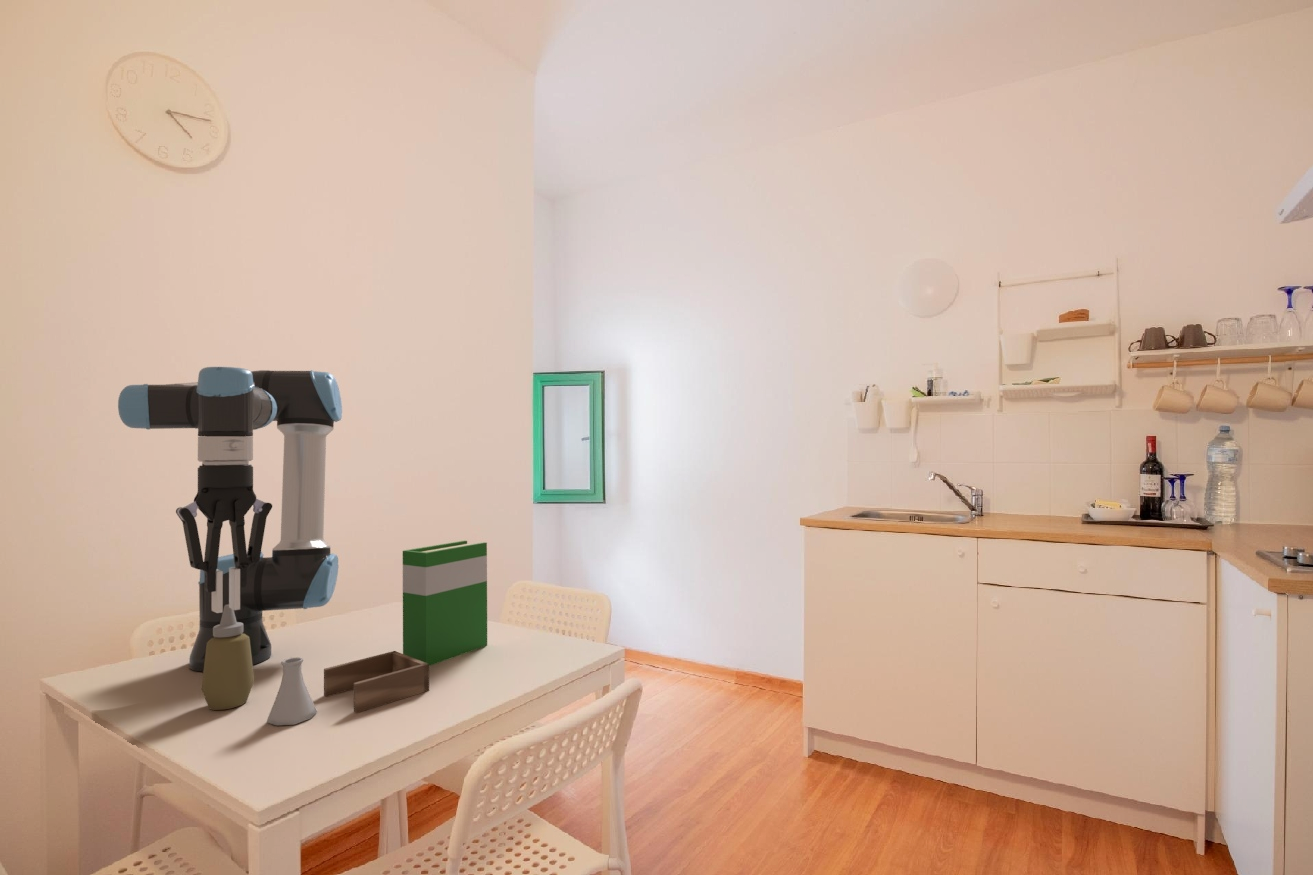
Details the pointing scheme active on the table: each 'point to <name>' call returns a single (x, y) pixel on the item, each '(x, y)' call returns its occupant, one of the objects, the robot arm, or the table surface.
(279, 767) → the table surface
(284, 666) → the flask
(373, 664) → the box
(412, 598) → the hardback book
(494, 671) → the table surface
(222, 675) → the squeeze bottle
